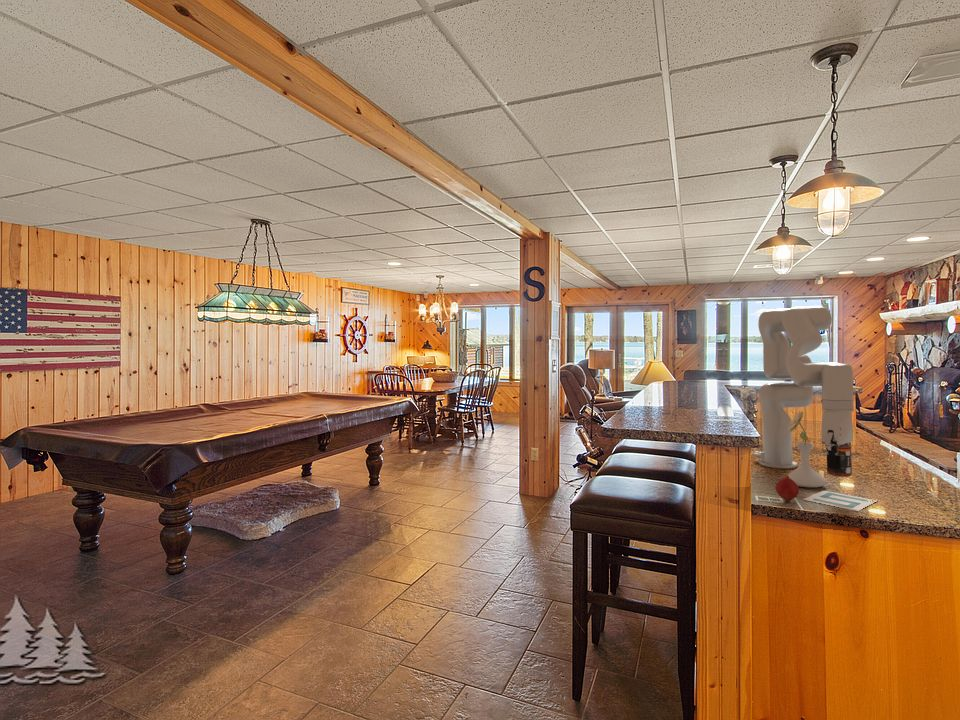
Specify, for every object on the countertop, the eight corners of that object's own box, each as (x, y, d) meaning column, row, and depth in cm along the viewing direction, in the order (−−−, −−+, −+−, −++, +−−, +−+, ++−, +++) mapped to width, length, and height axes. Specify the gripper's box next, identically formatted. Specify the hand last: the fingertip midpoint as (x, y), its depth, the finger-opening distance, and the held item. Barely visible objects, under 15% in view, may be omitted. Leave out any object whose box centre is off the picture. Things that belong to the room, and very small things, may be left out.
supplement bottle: (856, 477, 144) (855, 438, 143) (833, 477, 145) (832, 438, 145) (845, 472, 149) (844, 434, 149) (823, 472, 151) (822, 434, 150)
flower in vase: (790, 479, 172) (788, 406, 171) (830, 484, 164) (828, 408, 163) (779, 487, 163) (777, 411, 162) (821, 493, 154) (819, 413, 154)
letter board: (802, 499, 149) (802, 499, 149) (823, 491, 157) (823, 490, 157) (858, 511, 138) (858, 510, 138) (877, 501, 145) (877, 500, 145)
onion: (771, 499, 151) (771, 473, 151) (789, 498, 151) (788, 471, 151) (785, 505, 145) (784, 477, 145) (803, 503, 146) (803, 476, 146)
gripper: (835, 402, 155) (837, 460, 155) (809, 407, 145) (811, 469, 145) (864, 403, 148) (866, 464, 149) (839, 409, 139) (841, 473, 139)
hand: (839, 465), depth 147 cm, fingers closed on supplement bottle, 6 cm apart
